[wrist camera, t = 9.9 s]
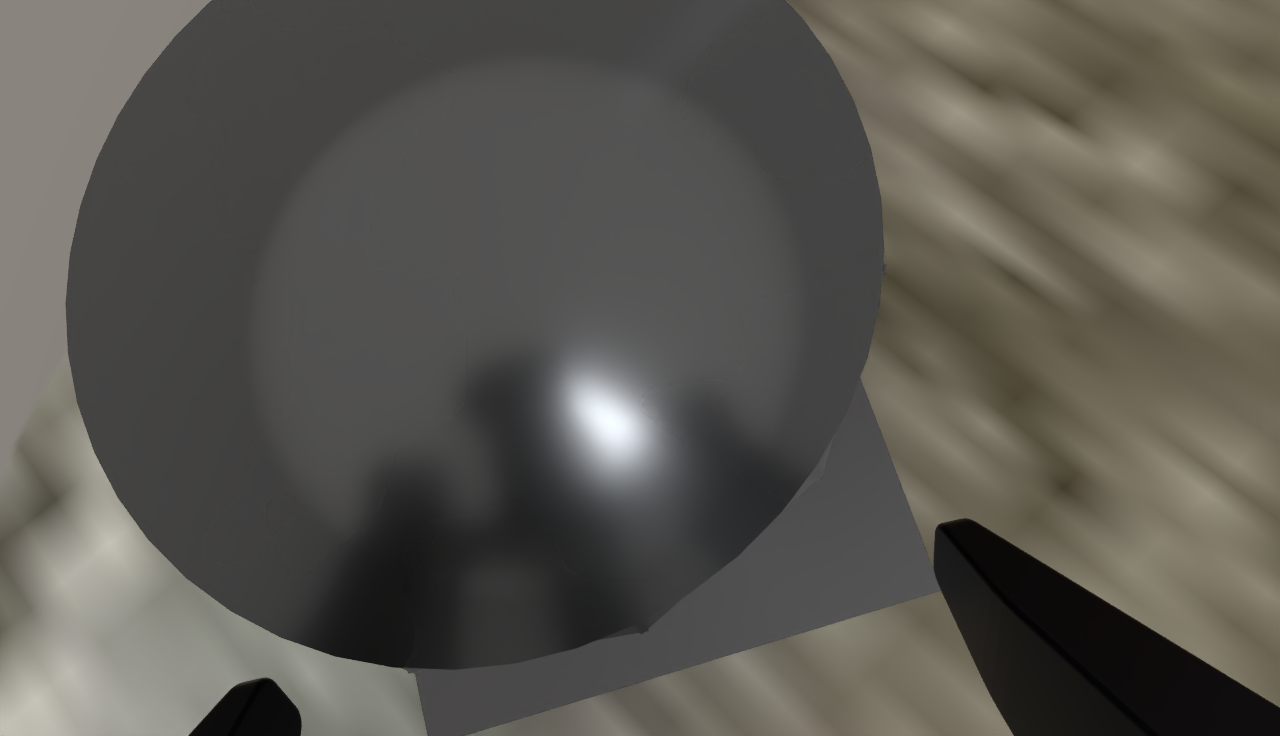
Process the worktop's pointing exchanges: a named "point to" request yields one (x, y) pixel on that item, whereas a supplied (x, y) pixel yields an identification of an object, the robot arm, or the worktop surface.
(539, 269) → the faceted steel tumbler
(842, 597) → the rubber mat
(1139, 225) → the worktop surface
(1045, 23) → the worktop surface
